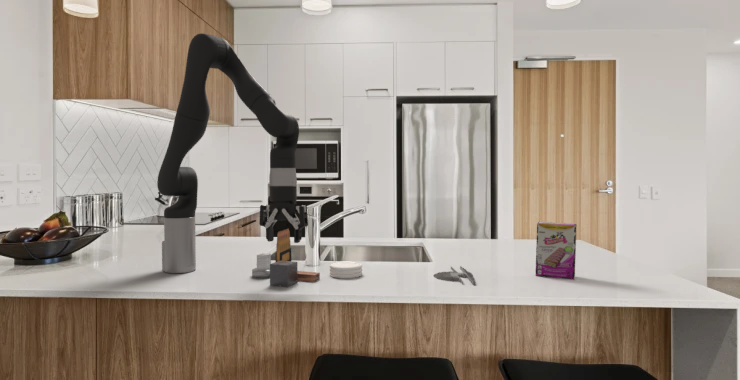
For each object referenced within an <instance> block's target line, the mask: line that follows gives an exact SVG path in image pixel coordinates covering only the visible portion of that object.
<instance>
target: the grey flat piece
mask: <svg viewBox="0 0 740 380" xmlns="http://www.w3.org/2000/svg"><path fill="white" fill-rule="evenodd" d="M459 269H460V270H461V272H458V271H457V270H456V269H455V268H454V267H453V266H450V271H441V272H440V271H439V272H437V273H434V274H433V277H434V278H436V280H440V281H445V282H452V283H453V282H457V283H461V285H464V281H463V280H462V278H463V279H467V280H468V281H469V282H470V283H471V285H472V286H476V284H477V283H476V280H475V278H474V275H473V273H472V272H470V271H468V270H467V269H466V268H464V267H463V266H462V265H460V266H459Z"/></svg>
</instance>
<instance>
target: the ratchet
mask: <svg viewBox="0 0 740 380" xmlns="http://www.w3.org/2000/svg"><path fill="white" fill-rule="evenodd" d="M271 259H272V255H271V253H259V254H256V267H255V268H252V270H251V277H252V278H254V279H258V280H259V279H260V280H261V279H270V264H272V261H271ZM320 278H321V276H320V272H318V271H317V272H313V271H301V270H297V281H298V282H299V281H300V282H301V281H302V282H312V283H315V282H317V281H319V280H320Z"/></svg>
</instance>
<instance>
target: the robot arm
mask: <svg viewBox="0 0 740 380" xmlns="http://www.w3.org/2000/svg"><path fill="white" fill-rule="evenodd" d="M210 69H217V70H219V71H220V72H222V73H223V74H224V75H226V76H227V77H228V78H229V79H230V81H232V83H233V85H234V88H235V90H236V94H237V95H238V97H239V99H240V100H241V101H242V103H243V104H244V106H246V107H247V108H248V109H249V110H250V112H252V113H253V114H254V115H255V117H256V119H257V120H258V122H259V123H260V125H261V127H262V128H263V129H264V131H265V132H266V133H267V134H269V135H270V136H272V137H273V138H276V142H275V146H274V147H273V148H271V150H270V152H269V176H268V177H269V179H268V180H269V202H270V203H269V204H267V203H266V204H261V205H260V206H259V222H258V223H259V226H261V227H264V229H265V239H266V241H267V242H268V243H269V242H273V241H274V240H275V239H274V234H275V233H274V231H275V230H274V225H275V224H276V223H277V222H278V221H285V222H286V221H288V222H289V223H290V224H291V225H292V226H293V228H294V230H293V243H294V244H299V243H300V242H301V240H302V239H303V238H302V232H303V231H302V230H303V228H307V227H308V226H309V220H308V219H309V217H308V216H309V215H308V206H307V205H303V204H302V205H297V199H298V197H297V196H298V194H297V193H298V191H297V183H298V182H297V181H298V180H297V178H298V177H297V172H296V171H297V169H296V151H297V147H298V143H299V135H300V126H299V125H300V124H299V122H298V120H297V118H296V117H295V116H294V115H292V114H289V113H286V112H285V113H284V112H283V111H282V110H281V109H279V107H278V106H277V103H276V101H275V99H274V98H273V96H272V95H271V94H270V93H269V92H268V91H267V90H266V89H265V88H264V87H263V86H262V85H261V84H260V82H258V81H257V80H256V78H255V77H254V76H253V75H252V74H251V73H250V71H249V70H248V68H247V67H246V66H245V64H244V63H243V61H242V60H241V58H240V57H239V56H238V54H237V53H236V51H235V50H234V48H233V47H232V46H231V44H230V43H229V42H228V41H227V40H226V39H225V38H223V37H220V36H216V35H212V34H207V33H203V32H202V33H197V34H196V35H194V36H193V37H192V39H191V40H190V43H189V46H188V51H187V58H186V65H185V72H184V73H185V74H184V79H183V83H182V87H181V88H182V89H181V93H180V98H179V101H178V105H177V108H176V112H175V117H174V120H173V121H174V122H173V126H172V130H171V134H170V139H169V143H168V145H167V150H166V152H165V155H164V157H163V161H162V163H161V165H160V168H159V171H158V175H157V181H156V182H157V183H156V184H157V191H158V192H159V194H160V195H162V196H164V197H178V198H177V200H176V201H175V203H173V204H172V205H170V206H167V207H165V208H164V210H163V228H164V229H163V230H164V231H163V233H164V234H163V235H164V236H163V237H164V238H163V239H164V240H162V241H161V271H162V272H164V273H167V274H184V273H185V274H186V273H191V272H194V271H196V268H197V263H196V262H197V257H196V256H197V255H196V253H197V252H196V250H197V249H196V244H197V243H196V210H197V208H198V207H197V206H198V189H199V183H198V182H199V179H198V175H197V172H196V171H195V169H194V168H193V167H189V166H181V165H182V162H183V161H184V159H185V157H186V155H188V153H189V152H190V151H191V150H192V149H193V148H194V147H195V145H197V144H198V143H199V141H200V140H201V139H202V138H203V137H204V135H205V133H206V129H207V127H208V123H209V119H210V114H211V110H210V105H209V104H210V103H209V99H208V96H207V91H206V85H207V78H208V74H209V72H210ZM269 212H270V213H271V214H270V216H269ZM296 213H298V214H299V217H298V216H297V214H296Z"/></svg>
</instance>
